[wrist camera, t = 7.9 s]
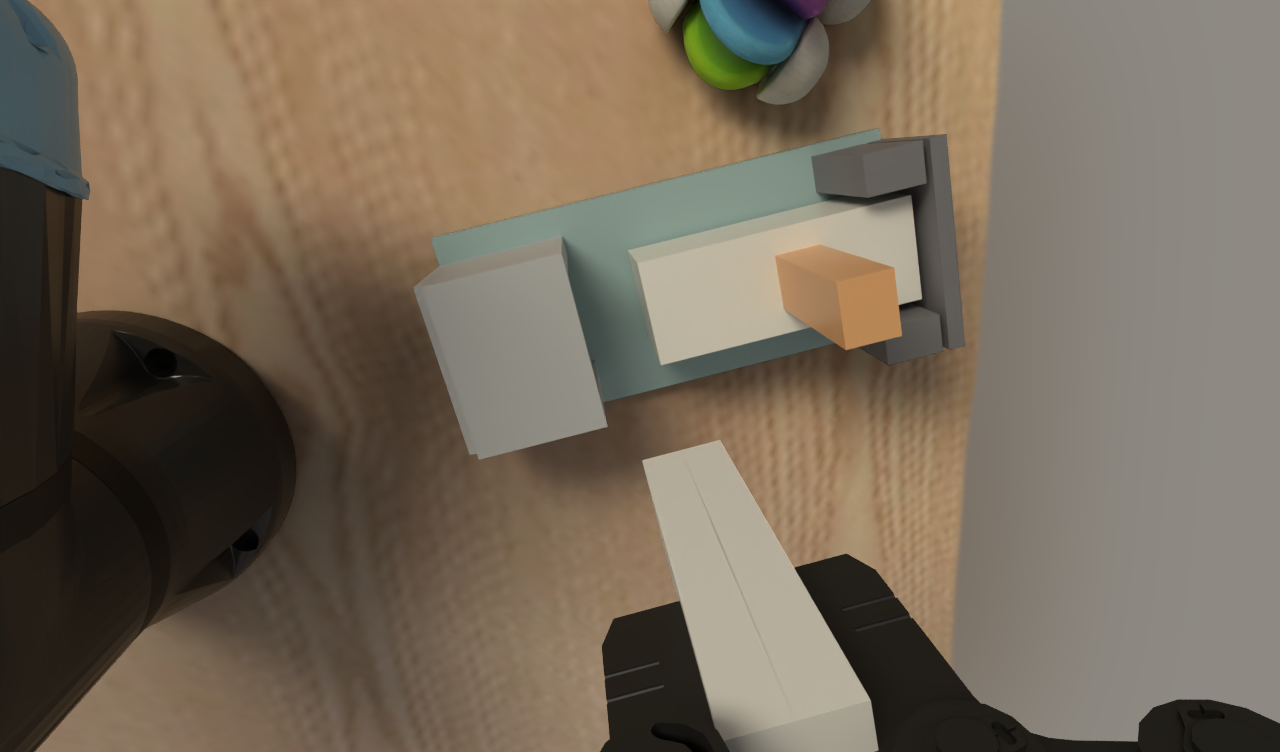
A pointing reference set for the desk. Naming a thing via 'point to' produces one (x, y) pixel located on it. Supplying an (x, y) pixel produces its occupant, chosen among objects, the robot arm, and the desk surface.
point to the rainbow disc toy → (758, 41)
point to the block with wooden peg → (782, 278)
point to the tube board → (608, 299)
